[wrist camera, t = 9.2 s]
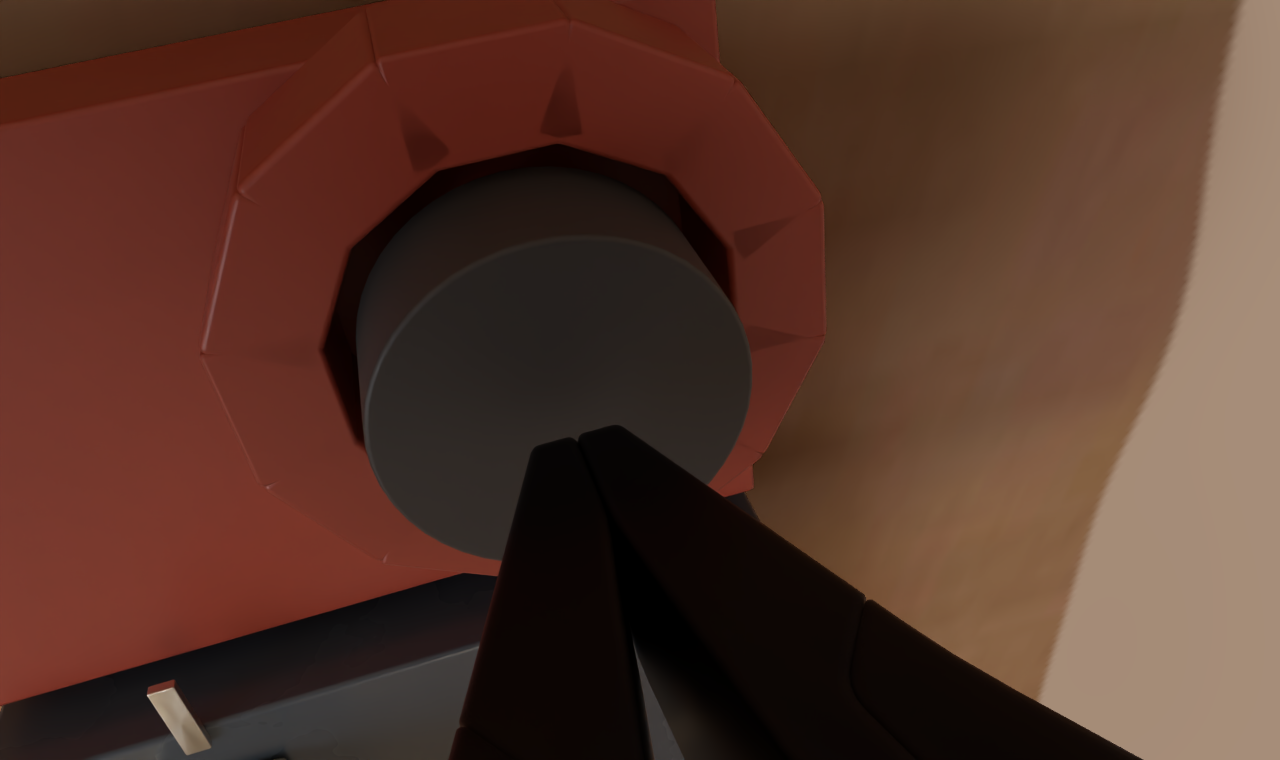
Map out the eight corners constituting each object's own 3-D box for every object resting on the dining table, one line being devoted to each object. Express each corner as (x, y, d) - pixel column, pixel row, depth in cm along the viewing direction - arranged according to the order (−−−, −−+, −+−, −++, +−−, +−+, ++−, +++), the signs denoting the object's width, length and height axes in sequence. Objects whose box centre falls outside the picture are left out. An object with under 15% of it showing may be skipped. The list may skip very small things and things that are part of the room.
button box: (4, 615, 16) (-69, 842, 13) (-371, 107, 11) (-642, 272, 8) (739, 413, 18) (834, 568, 15) (695, -102, 13) (822, -36, 10)
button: (409, 504, 12) (422, 606, 11) (305, 214, 10) (306, 296, 9) (715, 421, 13) (763, 507, 12) (684, 126, 11) (740, 191, 9)
